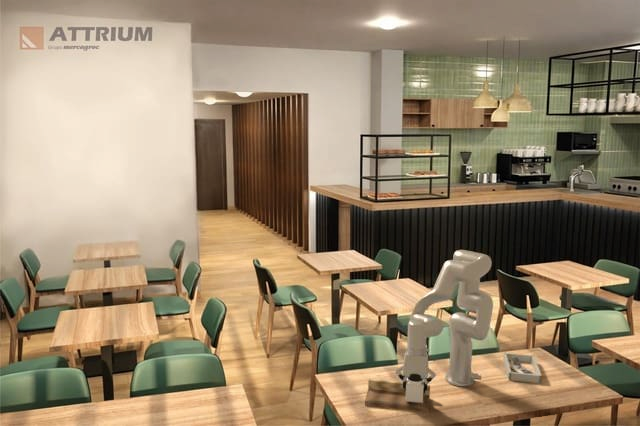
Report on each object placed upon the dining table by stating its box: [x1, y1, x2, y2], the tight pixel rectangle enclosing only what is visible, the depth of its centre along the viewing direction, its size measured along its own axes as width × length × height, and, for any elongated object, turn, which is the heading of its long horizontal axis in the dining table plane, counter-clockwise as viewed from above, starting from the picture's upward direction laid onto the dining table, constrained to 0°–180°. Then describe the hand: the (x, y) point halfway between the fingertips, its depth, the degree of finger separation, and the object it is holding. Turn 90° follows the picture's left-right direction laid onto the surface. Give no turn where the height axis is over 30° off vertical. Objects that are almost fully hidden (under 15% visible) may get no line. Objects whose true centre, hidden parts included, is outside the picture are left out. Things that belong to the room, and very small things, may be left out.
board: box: [364, 378, 431, 414], centre depth 232 cm, size 26×12×6 cm, turn 78°
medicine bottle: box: [406, 374, 424, 403], centre depth 229 cm, size 7×7×12 cm
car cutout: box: [509, 357, 536, 375], centre depth 262 cm, size 15×7×4 cm, turn 16°
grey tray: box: [502, 352, 543, 384], centre depth 262 cm, size 14×23×4 cm, turn 168°
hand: (414, 390), depth 229 cm, fingers closed on medicine bottle, 7 cm apart
